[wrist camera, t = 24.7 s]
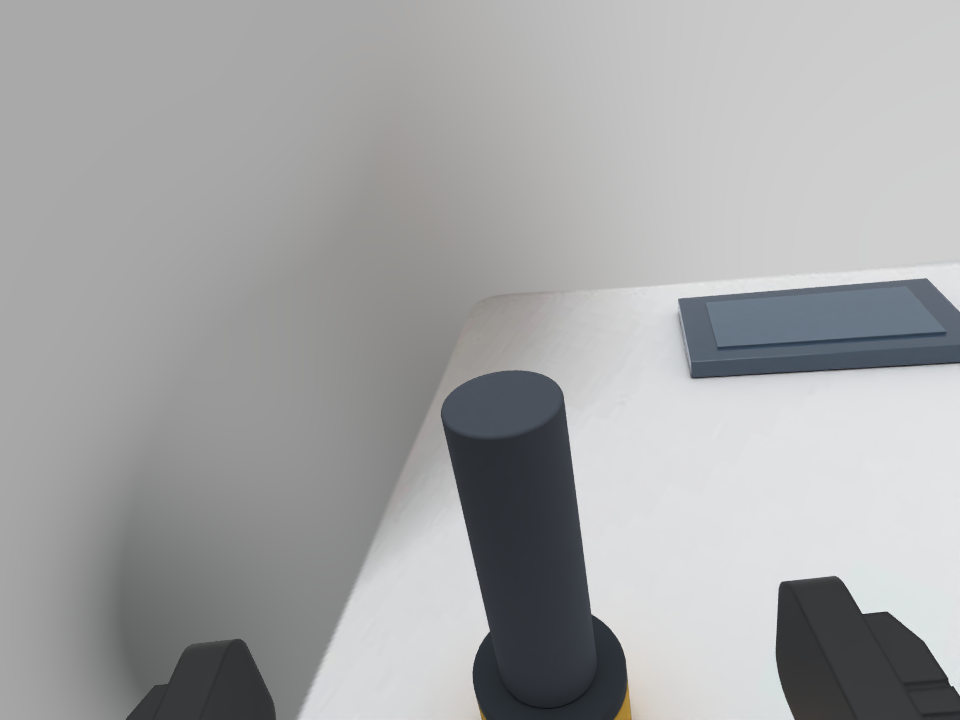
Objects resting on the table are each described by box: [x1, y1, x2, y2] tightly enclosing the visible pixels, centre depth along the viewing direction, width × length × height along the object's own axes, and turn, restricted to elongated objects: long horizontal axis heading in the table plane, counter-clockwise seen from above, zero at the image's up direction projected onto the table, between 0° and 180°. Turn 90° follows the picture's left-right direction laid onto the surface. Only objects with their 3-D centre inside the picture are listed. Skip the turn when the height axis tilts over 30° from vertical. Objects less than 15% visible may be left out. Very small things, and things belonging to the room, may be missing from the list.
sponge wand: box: [441, 370, 631, 720], centre depth 19 cm, size 4×4×12 cm
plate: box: [678, 278, 960, 378], centre depth 39 cm, size 14×8×1 cm, turn 81°
